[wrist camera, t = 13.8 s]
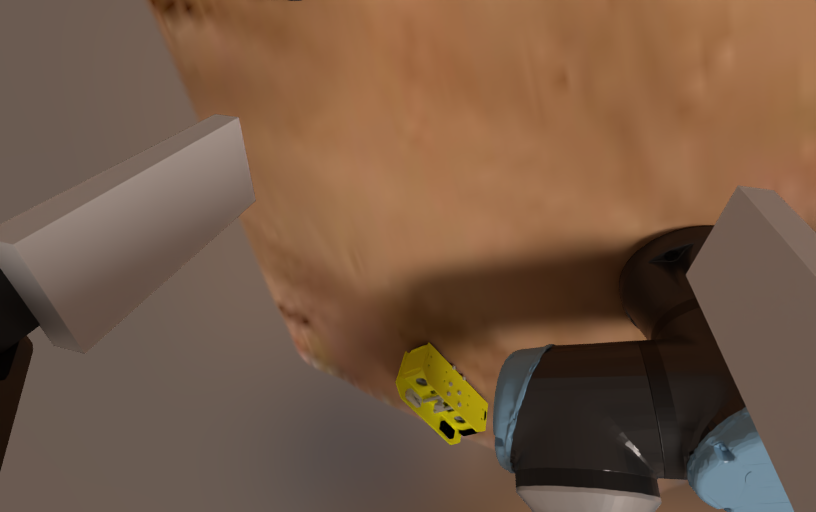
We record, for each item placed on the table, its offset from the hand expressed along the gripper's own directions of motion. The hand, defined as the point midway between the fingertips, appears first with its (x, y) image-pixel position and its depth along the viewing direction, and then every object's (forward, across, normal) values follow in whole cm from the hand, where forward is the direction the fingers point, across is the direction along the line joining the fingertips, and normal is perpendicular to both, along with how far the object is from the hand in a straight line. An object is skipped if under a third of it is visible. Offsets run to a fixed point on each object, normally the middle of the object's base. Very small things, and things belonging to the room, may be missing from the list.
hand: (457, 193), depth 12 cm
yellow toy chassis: (+33, +1, +51) cm, 60 cm away
